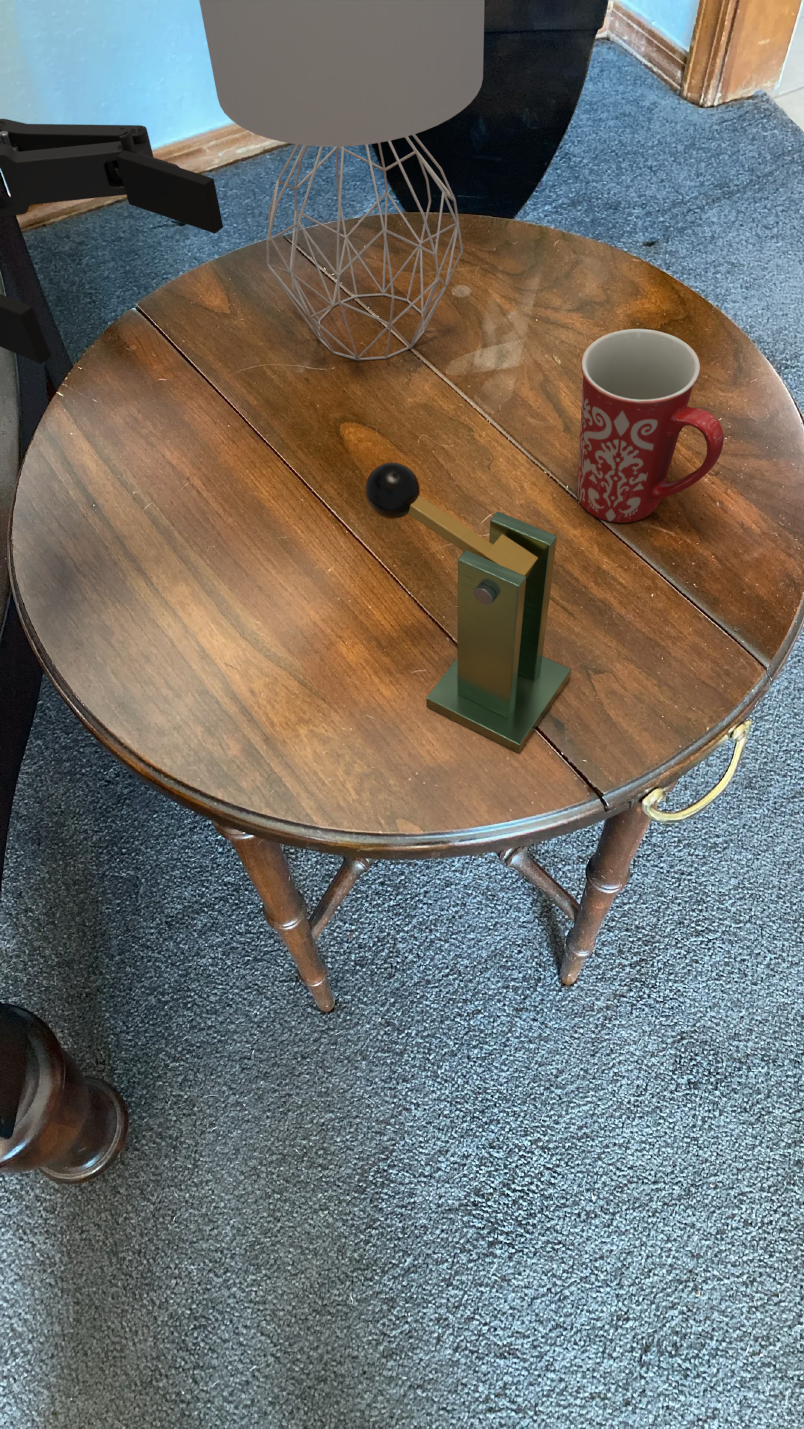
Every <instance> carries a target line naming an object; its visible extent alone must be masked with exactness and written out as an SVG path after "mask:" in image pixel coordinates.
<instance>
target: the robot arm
mask: <svg viewBox="0 0 804 1429" xmlns="http://www.w3.org/2000/svg"><path fill="white" fill-rule="evenodd" d="M0 171H1V173H2V176H3V179H4V181H5V184H6V187H7V189H8V193H9V195H10V196H3V197H2V193H1V192H0V218H1V217H2V218H3V217H11V216H21V215H25V214H26V213H27V212H28V211H29V207H30V206H32V205H33V206H34V205H41V204H53V203H61V202H70V201H71V202H72V201H81V200H90V199H99V198H110V197H119V196H126V199H127V202H128V205H130V206H132V207H136V208H139V209H141V210H144V211H147V212H151V213H153V214H156V215H159V216H163V217H165V218H167V219H171V220H174V221H177V222H180V223H182V224H185V225H188V226H191V227H194V228H197V229H200V230H203V231H206V232H209V233H212V234H213V235H214V234H217V233H218V232H220V231H221V230H222V229H224V223H223V218H222V213H221V208H220V203H219V200H218V193H217V188H216V184H215V179H214V177H210V176H207V175H204V174H200V173H197V172H194V171H191V170H189V169H185V168H182V167H180V165H177V164H176V163H172V162H169V161H166V160H163V159H160V158H157V157H154V154H153V149H152V145H151V141H150V137H149V132H148V129H147V127H146V126H145V125H142V124H141V125H140V124H129V125H128V124H75V123H74V124H73V123H72V124H69V123H65V124H63V123H26V122H20V121H16V120H12V119H8V118H0ZM0 348H2V349H5V350H7V351H9V352H11V353H14V354H16V355H18V356H20V357H23V358H26V359H28V360H29V361H32V362H35V363H37V364H38V365H42V364H43V363H45V362H46V361H48V359H50V358H51V357H52V354H51V351H50V349H49V346H48V344H47V340H46V339H45V336H44V333H43V331H42V328H41V325H40V323H39V321H38V318H37V315H36V313H35V310H34V308H33V306H31V305H29V304H27V303H24V302H21V301H18V300H17V299H14V298H11V297H9V296H6V295H4V294H2V293H0Z"/></svg>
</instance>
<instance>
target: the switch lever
mask: <svg viewBox="0 0 804 1429" xmlns="http://www.w3.org/2000/svg"><path fill="white" fill-rule="evenodd" d="M364 496H365V500H366V502H367V504H368V506H369V508H370V509H371V510H372V511H373V512H374V513H375V514H376V515H377V516H379V517H381V518H383V519H387V520H398V519H401V518H404V517H406V516H410V517H411V518H413V519H414V520H415V521H417V522H419V523H420V524H422V525H423V526H425V527H426V528H428V529H429V530H431V531H432V532H434V533H435V534H437V535H438V536H440V537H441V538H443V539H444V540H446V541H447V542H449V543H450V544H452V545H453V546H454V547H456V548H458V549H459V550H461V551H462V552H464V551H465V550H467V551H469V552H471V553H474V554H476V555H478V556H481V557H483V558H485V559H487V560H490V561H492V562H494V563H497V564H499V565H501V566H503V567H506V568H508V569H510V570H513V571H515V572H517V573H520V574H522V575H524V576H526V579H527V578H528V576H529V574H530V572H531V570H532V568H533V567H534V565H535V563H536V561H537V559H538V557H536V556H535V555H533V554H532V553H530V552H529V551H527V550H526V549H524V548H523V547H521V546H520V545H518V544H517V543H515V542H514V541H512V540H511V539H509V538H508V537H506V536H505V535H503V534H501V536H500V537H499V538H498V539H497V541H496V542H495V543H494V544H491V543H490V542H489V540H487V539H485V537H483V536H481V535H479V533H477V532H476V531H473V530H472V529H471V528H469V527H467V525H464V524H463V523H461V522H460V521H458V520H457V519H455V518H454V517H452V516H451V515H449V514H448V513H446V512H444V511H443V510H442V509H440V508H439V507H437V506H435V505H434V504H433V503H431V502H430V501H428V500H427V499H425V498H424V497H422V496H421V485H420V482H419V479H418V477H417V475H416V474H415V473H414V472H413V470H412V469H410V467H408V466H406V465H404V464H402V463H399V462H386V463H382V464H380V465H378V466H377V467H375V468H374V469H372V471H371V472H370V474H369V475H368V477H367V479H366V482H365V485H364Z"/></svg>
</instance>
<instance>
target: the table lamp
mask: <svg viewBox="0 0 804 1429" xmlns="http://www.w3.org/2000/svg"><path fill="white" fill-rule="evenodd" d="M198 1H199V6H200V12H201V16H202V22H203V28H204V33H205V38H206V44H207V49H208V55H209V59H210V64H211V70H212V75H213V76H212V77H213V81H214V86H215V90H216V96H217V100H218V103H219V107H220V108H221V110H222V112H223V113H224V114H225V116H227V117H228V118H229V119H230V121H232V122H233V123H235V124H236V125H237V126H239V127H240V128H242V129H244V130H246V131H248V132H250V133H251V134H255V135H257V136H260V137H262V138H265V139H269V140H273V141H277V142H281V143H285V144H286V143H287V144H291V145H292V144H293V145H295V147H294V148H293V150H292V152H291V153H290V156H289V157H288V159H287V161H286V163H285V164H284V166H283V168H282V170H281V172H280V174H279V176H278V177H277V179H276V182H275V186H274V190H273V194H272V197H271V202H270V205H269V209H268V214H267V215H268V216H267V218H268V220H267V221H268V222H267V224H268V230H267V236H266V266H267V268H268V269H269V271H270V272H271V275H272V276H273V277H274V278H275V280H276V281H277V283H278V284H279V286H280V287H281V289H282V290H283V292H284V293H285V294H286V296H287V298H288V299H289V301H290V302H291V303H292V304H293V306H294V307H295V309H296V310H297V311H298V313H299V315H300V316H301V317H302V318H303V320H304V321H305V323H306V324H307V325H308V327H309V328H310V329H311V331H312V332H313V334H314V335H315V337H316V338H317V340H319V341H320V342H321V343H322V344H323V345H324V347H326V348H327V349H328V350H329V351H330V352H331V354H334V355H337V356H340V357H343V358H348V359H351V360H354V361H358V362H359V361H373V360H386V359H389V358H391V357H393V356H396V355H398V354H401V353H403V352H405V351H408V350H409V349H412V348H413V347H414V346H415V344H416V343H417V342H418V341H419V339H420V338H421V337H422V336H423V335H424V333H425V332H426V330H427V328H428V326H429V324H430V322H431V320H432V319H433V316H434V314H435V312H436V310H437V308H438V306H439V304H440V302H441V300H442V297H443V296H444V293H445V292H446V291H447V290H446V289H447V288H448V286H449V283H450V281H451V280H452V278H453V274H454V272H455V271H456V268H457V266H458V263H459V262H460V260H461V257H462V255H463V252H464V246H463V240H462V234H461V228H460V219H459V218H460V217H459V212H458V205H457V200H456V197H455V195H454V193H453V191H452V189H451V187H450V186H451V185H450V184H449V181H448V180H447V177H446V175H445V172H444V170H443V168H442V166H441V165H440V164H439V163H438V162H437V160H436V159H435V158H434V156H433V155H432V154H431V153H430V151H429V150H428V149H427V147H426V146H425V145H424V144H423V143H422V141H421V140H420V139H419V138H418V136H417V134H419V133H422V132H425V131H427V130H429V129H432V128H434V127H438V126H439V125H441V124H443V123H445V122H447V121H449V120H450V119H452V118H453V117H455V116H457V115H458V114H459V113H461V112H462V111H463V110H464V109H466V108H467V107H468V106H469V105H470V104H471V103H472V102H473V100H474V99H475V98H476V97H477V95H478V94H479V92H480V90H481V88H482V85H483V80H484V51H485V50H484V44H485V42H484V41H485V40H484V39H485V36H484V35H485V0H198ZM410 136H412V137H413V138H414V140H415V141H416V142H417V144H418V145H419V146H420V147H421V148H422V150H423V151H424V152H425V154H426V155H427V157H428V158H429V159H430V160H431V161H432V163H433V164H434V165H435V166H436V168H437V169H438V170H439V171H440V175H441V176H442V178H443V181H444V183H445V184H444V183H443V181H442V180H441V179H440V178H439V176H438V175H437V174H436V173H435V171H434V170H433V168H432V167H431V166H430V165H429V163H428V162H427V161H426V159H425V158H424V157H423V155H422V154H421V153H420V152H419V150H418V149H417V147H416V146H415V145H414V143H413V142H412V141H411V139H410ZM402 138H405V140H406V141H407V143H408V144H409V146H410V147H411V149H412V150H413V151H412V152H410V153H409V154H407V155H405V156H404V157H402V158H399V156H398V154H397V152H396V149H395V147H394V145H393V143H392V141H394V140H398V139H402ZM385 142H387V143H388V145H389V147H390V149H391V152H392V153H393V155H394V158H395V160H396V161H395V162H393V163H392V164H390V165H388V166H387V167H386V165H385V160H384V155H383V150H382V145H381V143H385ZM373 144H377V145H378V150H379V155H380V160H381V165H382V166H380V165H378V164H376V163H374V162H372V158H371V153H370V149H369V145H373ZM299 146H302V147H301V149H300V151H299V152H298V155H297V157H296V159H295V161H294V164H293V165H292V167H291V170H290V172H289V174H288V175H287V178H286V180H285V182H284V181H282V180H281V179H282V178H283V176H284V174H285V172H286V170H287V168H288V166H289V165H290V162H291V161H292V160H293V158H294V156H295V154H296V152H297V150H298V149H299ZM309 146H311V147H319V149H318V152H317V155H316V159H315V162H314V165H313V169H312V170H311V171H310V172H309V173H308V174H307V175H305V177H304V178H303V179H302V180H301V181H300V182H299V177H300V173H301V172H300V171H301V167H302V161H303V158H304V156H305V154H306V151H307V150H308V147H309ZM354 146H355V147H356V146H365V151H366V156H367V159H366V158H364V157H362V156H360V155H358V154H356V153H354V152H352V151H350V150H348V149H346V148H345V147H354ZM323 147H329V148H330V147H331V148H332V147H333V149H332V150H331V151H329V153H328V154H327V155H325V156H324V157H323V159H322V160H321V161H320V158H321V155H322V151H323ZM339 150H340V167H339ZM334 153H335V179H336V181H335V182H336V194H337V201H338V203H337V205H338V206H337V220H336V230H335V229H333V228H331V227H329V226H327V225H326V224H324V223H322V222H320V221H318V220H316V219H314V218H312V217H311V216H309V215H307V214H305V213H304V212H305V209H306V205H307V201H308V198H309V195H310V192H311V188H312V185H313V181H314V178H315V174H316V171H317V170H318V169H319V168H320V167H321V166H322V165H323V164H324V163H325V162H326V161H327V159H329V158H330V157H331V155H333V154H334ZM345 153H347V154H348V155H350V156H353V157H355V158H356V159H358V160H360V161H363V162H364V163H366V164H368V165H369V170H370V176H371V180H372V184H373V189H374V194H375V200H376V202H374V204H373V205H372V206H371V207H370V208H369V210H367V212H366V213H365V214H364V215H363V216H362V217H361V218H360V219H359V221H358V222H357V223H356V224H355V225H354V226H353V227H352V229H350V231H349V232H348V233H347V229H346V223H345V217H344V212H343V206H342V194H343V193H342V192H343V178H344V177H343V176H344V161H345V159H344V158H345ZM414 155H416V157H417V160H418V163H419V165H420V168H421V170H422V174H423V177H424V179H425V183H426V190H427V197H428V204H427V208H426V212H424V210H423V208H422V206H421V204H420V201H419V200H418V197H417V195H416V193H415V191H414V188H413V185H412V184H411V181H410V180H409V178H408V175H407V173H406V171H405V169H404V167H403V165H402V162H404V161H405V160H407V159H409V158H411V157H413V156H414ZM319 161H320V162H319ZM397 165H398V166H399V169H400V171H401V173H402V175H403V177H404V180H405V182H406V184H407V186H408V188H409V190H410V192H411V195H412V197H413V199H414V201H415V203H416V206H417V207H418V210H419V213H420V214H421V217H422V220H423V227H422V230H421V236H420V238H419V236H418V235H417V234H416V232H415V230H414V229H413V227H412V226H411V225H410V223H409V222H408V219H407V218H406V217H405V216H404V214H403V212H402V210H400V208H399V207H398V205H397V203H396V202H395V200H394V199H393V197H392V196H391V194H390V193H389V189H388V179H387V171H389V170H390V169H392V168H393V167H395V166H397ZM373 167H374V168H376V169H378V170H380V171H382V172H383V180H384V190H385V192H383V193H382V195H381V196H379V193H378V188H377V182H376V177H375V174H374V173H375V172H374V168H373ZM296 168H297V171H296V176H295V180H294V181H295V182H294V186H292V185H290V184H289V182H290V180H291V178H292V176H293V174H294V172H295V170H296ZM339 168H340V169H339ZM339 170H340V171H339ZM426 171H427V172H428V174H429V175H430V177H431V178H432V179H433V181H434V183H435V184H436V185H437V187H438V188H439V190H440V191H441V199H440V206H439V215H438V224H437V232H435V234H432V235H431V231H430V228H429V224H428V219H429V218H428V217H429V213H430V209H431V204H432V196H431V190H430V182H429V178H428V174H427V172H426ZM309 178H310V180H309V183H308V186H307V189H306V193H305V196H304V199H303V203H302V207H301V209H300V211H299V210H298V199H297V190H298V189H299V188H300V187H302V185H303V184H304V183H305V182H306V181H307V180H308V179H309ZM279 184H281V185H283V186H282V189H281V191H280V193H279V195H278V191H279ZM287 188H290V189H291V190H293V194H294V195H293V196H294V199H293V200H294V216H293V224H292V225H290V226H289V227H287V228H285V229H283V230H281V231H280V232H279V233H277V234H275V235H273V236H272V231H273V227H274V223H275V219H276V214H277V210H278V206H279V203H280V201H281V200H282V197H283V195H284V193H285V191H286V189H287ZM277 196H278V197H277ZM384 198H385V200H384V218H383V214H382V213H383V212H382V208H381V203H380V202H382V200H383V199H384ZM388 198H389V199H388ZM449 199H450V200H451V201H452V202H453V207H454V211H453V208H452V206H451V204H450V201H449ZM388 200H390V202H391V203H392V204H393V206H394V207H395V209H396V210H397V212H398V214H399V215H400V216H401V218H402V219H403V221H404V222H405V224H406V225H407V227H408V229H409V230H410V232H411V233H412V235H413V236H414V238H415V239H416V241H417V242H418V243H416V242H414V241H411V240H409V239H407V238H405V237H404V236H401V235H399V234H397V233H395V232H394V231H391V230H389V229H388ZM444 200H445V202H446V205H447V207H448V210H449V212H450V214H451V218H452V219H453V221H454V223H453V224H451V225H449V226H447V227H445V228H444V229H441V223H442V218H443V217H442V215H443V209H444ZM376 207H377V209H378V214H379V219H380V224H381V230H380V231H379V232H378V233H377V234H376V235H375V236H374V237H373V238H372V239H370V241H369V242H368V243H367V244H366V245H365V246H364V247H363V248H362V249H361V250H360V251H359V252H358V251H357V250H356V248H355V247H354V245H353V244H352V243H351V240H350V239H349V237H350V236H351V234H352V233H353V232H354V231H355V230H356V229H357V228H358V227H359V226H360V225H361V224H362V222H363V221H364V220H365V219H366V218H367V217H368V216H369V215H370V213H372V211H373V210H375V208H376ZM303 217H304V218H306V219H307V220H309V221H312V222H313V223H315V224H317V225H319V226H320V227H322V228H325V229H326V230H328V231H330V232H332V233H334V234H335V235H336V269H335V268H334V266H333V265H332V264H331V262H330V261H329V260H328V258H327V257H326V256H325V254H324V253H323V252H322V250H321V248H320V247H319V246H318V245H317V243H316V242H315V241H314V239H313V238H312V237H311V235H310V234H309V233H308V231H307V230H306V229H305V227H304V226H303V223H302V219H303ZM297 220H298V221H297ZM341 222H342V223H341ZM341 224H342V229H343V233H340V230H341V228H340V227H341ZM452 228H454V229H453V232H452V235H451V237H450V240H449V243H448V245H447V247H446V250H445V253H444V256H443V258H442V261H441V263H440V267H439V261H438V246H439V240H440V236H441V235H442V234H443V233H445V232H447V231H449V230H451V229H452ZM300 229H301V231H302V234H303V236H304V239H305V241H306V244H307V247H308V250H309V253H310V255H311V257H312V260H313V262H314V265H315V268H316V270H317V273H318V274H319V278H320V280H321V282H322V285H323V287H324V290H325V292H326V295H327V297H328V299H327V298H326V297H325V296H323V295H322V294H321V293H320V292H318V291H317V290H316V289H314V288H313V287H312V286H310V285H309V284H307V283H306V281H304V280H302V278H300V277H299V276H297V274H295V261H296V255H297V248H298V241H299V234H300ZM291 230H292V237H291V239H292V240H291V248H290V259H289V260H290V261H289V265H288V264H287V262H286V260H285V258H284V257H283V255H282V252H281V251H280V249H279V248H278V246H277V244H276V242H275V240H276V239H277V238H279V237H281V236H282V235H284V234H285V233H288V232H290V231H291ZM425 232H426V233H427V236H428V237H427V238H426V239H424V237H425ZM387 234H389V235H390V236H393V237H395V238H397V239H399V240H401V241H403V242H405V243H407V244H410V245H411V246H413V247H415V248H414V250H413V252H411V254H410V255H409V257H408V258H407V259H406V260H405V262H404V264H403V265H402V266H401V268H400V269H399V270H398V271H397V273H396V274H395V275H394V277H393V270H392V265H391V260H390V251H389V246H388V240H387ZM381 235H383V263H382V264H383V265H382V268H383V269H382V287H381V286H380V284H379V282H378V281H377V280H376V278H375V276H374V275H373V274H372V272H371V271H370V269H369V268H368V266H367V265H366V263H365V262H364V260H363V258H362V257H361V255H362V254H363V253H364V252H365V251H366V250H367V249H368V248H369V247H370V246H371V245H372V244H373V243H374V242H375V241H377V239H378V238H379V237H380V236H381ZM457 236H458V237H457ZM340 237H341V238H343V245H342V251H341V254H340ZM457 238H458V241H459V242H458V243H459V247H460V252H459V254H458V256H457V258H456V261H455V263H454V265H453V267H452V263H453V259H454V252H455V247H456V242H457ZM433 239H435V244H434V240H433ZM309 241H310V242H309ZM270 242H271V243H272V245H273V247H274V249H275V250H276V252H277V254H278V256H279V258H280V260H281V261H282V263H283V265H284V266H285V268H286V269H285V268H282V267H279V266H276V265H273V264H271V263H270ZM428 242H429V243H430V247H431V249H432V250H430V249H428V248H426V247H424V246H423V244H425V243H428ZM310 243H311V244H312V246H313V247H314V248H315V250H316V251H317V252H318V254H319V255H320V256H321V258H322V259H323V260H324V261H325V263H326V264H327V265H328V267H329V268H330V270H331V271H332V272H333V273H334V275H335V276H336V282H335V285H334V286H335V287H334V292H333V297H331V294H330V292H329V289H328V286H327V284H326V281H325V279H324V277H323V274H322V272H321V269H320V267H319V264H318V262H317V259H316V256H315V254H314V251H313V250H312V246H311V244H310ZM350 248H351V249H352V251H353V253H354V254H355V256H354V257H353V258H352V257H351V251H350ZM450 249H451V252H450ZM345 250H346V252H347V258H348V262H347V264H346V265H345V266H344V267H343V268H342V266H343V262H344V256H345ZM423 251H425V252H426V253H429V254H431V255H433V256H434V264H435V271H436V276H435V279H434V281H433V282H432V283H431V284H430V285H429V286H428V287H427V288H425V289H424V274H423V271H424V270H423ZM449 252H450V257H449V261H448V262H449V263H448V268H447V274H446V278H445V281H444V280H442V279H441V277H440V274H441V272H442V270H443V267H444V265H445V262H446V259H447V257H448V254H449ZM415 254H416V258H415V260H414V261H415V262H414V265H413V270H412V274H411V278H410V283H409V287H408V291H407V296H406V298H405V297H401V296H396V295H395V291H394V282H395V281H396V279H397V278H398V277H399V275H400V274H401V273H402V271H403V270H404V269H405V268H406V266H407V265H408V263H409V262H410V261H411V259H413V257H414V256H415ZM340 255H341V256H340ZM358 259H359V260H360V263H361V265H362V266H363V267H364V269H365V270H366V272H367V273H368V275H369V276H370V278H371V279H372V280H373V283H375V285H376V286H377V288H378V289H379V291H380V292H381V293H380V292H379V293H364V294H358V291H357V285H356V279H355V274H354V269H353V263H354V262H355V261H356V260H358ZM386 262H387V265H386ZM418 262H419V272H420V273H419V274H420V275H419V276H420V294H419V295H418V296H417V297H416V298H415V299H414V300H413V301H412V302H411V301H410V295H411V292H412V287H413V283H414V279H415V274H416V270H417V267H418ZM386 266H387V267H388V274H389V283H388V285H387V286H386ZM348 268H350V274H351V279H352V285H353V290H354V295H353V296H350V297H348V298H345V299H343V300H341V285H340V284H341V283H340V277H341V275H342V274H343V273H344V272H345V271H346V270H347V269H348ZM451 269H452V270H451ZM275 270H278V271H281V272H284V273H288V274H289V275H290V278H291V290H292V291H291V290H290V288H289V287H288V286H287V284H285V282H284V280H283V279H282V278H281V277H280V276H279V275H278V273H277V272H276V271H275ZM298 281H299V282H298ZM299 283H301V284H302V285H304V286H305V287H306V288H308V289H309V290H310V291H311V292H313V293H314V294H316V296H318V297H319V298H320V299H322V300H323V301H325V303H327V304H328V306H327V307H325V308H323V309H321V310H319V311H317V312H316V311H315V309H314V307H313V306H312V304H311V303H310V301H309V299H308V298H307V296H306V294H305V293H304V291H303V289H302V288H301V285H300V284H299ZM439 283H441V284H442V285H443V287H442V288H441V289H440V291H439V292H438V293H437V294H436V291H437V288H438V286H439ZM389 289H390V292H391V293H390V294H389V293H387V291H388V290H389ZM427 292H429V294H428V296H427V299H426V301H425V303H424V296H425V294H427ZM435 294H436V295H435ZM378 296H385V297H387V298H391V302H390V312H389V321H386V320H384V319H382V318H380V317H378V316H375V315H373V314H371V313H368V312H367V311H364V310H361V309H360V308H357V307H354V306H352V305H350V304H348V303H346V302H349V301H351V300H354V299H357V298H367V297H378ZM434 296H435V297H434ZM336 297H337V298H336ZM336 299H337V301H336ZM395 299H396V300H399V301H403V302H407V303H408V306H406V307H405V308H404V310H402V311H401V312H400V314H398V315H397V316H396V317H395V318H394V319H393V316H394V315H393V314H394V305H395ZM419 300H420V307H421V308H419V307H417V306H416V305H415V304H416V303H417V302H418V301H419ZM307 305H308V307H309V308H310V310H311V312H312V313H313V314H311V313H310V311H309V308H308V307H307ZM432 305H433V306H432ZM336 306H339V310H340V312H341V316H342V319H343V322H344V325H345V329H346V332H347V335H348V337H349V340H350V343H351V346H352V349H353V351H352V350H350V349H349V348H348V347H347V346H346V345H344V343H342V341H340V340H339V339H338V338H337V337H336V336H334V335H333V334H332V333H331V332H330V331H329V330H327V328H325V326H323V325H321V321H323V319H324V318H325V317H326V316H327V315H328V314H329V312H330V311H331V310H332V309H333V308H335V307H336ZM343 306H344V307H345V308H348V309H351V310H353V311H355V312H358V313H359V314H362V315H364V316H367V317H369V318H371V319H374V320H376V321H378V322H381V323H383V324H386V325H387V326H386V327H385V328H383V330H382V331H381V332H380V333H379V334H378V335H377V336H376V338H374V340H372V341H371V343H369V345H368V346H367V347H366V348H365V349H364V350H363V351H362V352H361V353H360V354H359V353H358V351H357V348H356V346H355V342H354V339H353V337H352V332H351V331H350V328H349V324H348V321H347V318H346V314H345V311H344V308H343ZM431 306H432V307H431ZM430 307H431V309H430ZM411 308H413V309H414V310H416V311H417V312H419V314H421V319H420V321H419V324H418V325H417V328H416V331H415V333H414V335H413V338H412V340H411V343H410V342H408V340H407V339H406V338H405V337H404V335H402V334H401V333H400V331H399V330H397V328H396V327H395V326H394V325H393V324H394V323H396V322H397V321H398V320H399V319H400V318H401V317H402V316H403V315H404V314H405V313H406V312H408V310H410V309H411ZM301 309H302V310H301ZM429 309H430V311H429ZM302 311H303V312H304V313H305V314H304V313H303V312H302ZM428 311H429V312H428ZM427 313H428V314H427ZM320 314H322V315H321V317H319V315H320ZM306 316H307V317H308V319H309V320H308V319H307V317H306ZM315 318H316V319H315ZM392 330H393V331H394V332H395V334H397V335H398V336H399V337H400V339H401V340H402V341H403V342H404V343H405V344H406V345H407V346H406V347H404V348H402V349H400V350H397V351H395V352H393V353H391V354H389V349H390V348H389V347H390V340H391V333H392ZM322 331H324V333H326V334H327V335H328V336H329V337H330V338H332V340H334V341H335V342H336V343H337V344H338V345H339V346H340V347H341V348H343V349H344V350H345V351H346V352H348V354H349V355H348V354H345V353H342V352H339V351H336V350H335V351H334V349H333V347H332V346H331V344H330V343H329V341H328V340H327V338H326V337H325V335H324V334H323V332H322ZM386 331H388V332H387V340H386V348H385V356H370V357H368V356H367V357H363V356H364V355H365V354H366V353H367V352H368V351H369V349H370V348H371V347H372V346H373V345H374V344H375V343H376V342H378V340H379V339H380V338H381V337H382V336H383V335H384V334H385V333H386ZM358 354H359V355H358Z"/></svg>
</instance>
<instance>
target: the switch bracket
mask: <svg viewBox="0 0 804 1429" xmlns="http://www.w3.org/2000/svg"><path fill="white" fill-rule="evenodd" d="M501 534H503V535H505V536H506V537H508V538H509V539H511V540H512V541H514V542H515V543H517V544H518V545H520V546H521V547H523V548H524V549H526V550H527V551H529V552H530V553H532V554H533V555H535V556H536V557H538V559H537V561H536V563H535V565H534V567H533V568H532V570H531V572H530V574H529V576H528V578H527V579H526V576H524V575H522V574H520V573H517V572H515V571H513V570H510V569H508V568H506V567H503V566H501V565H499V564H497V563H494V562H492V561H490V560H487V559H485V558H483V557H481V556H478V555H476V554H474V553H471V552H469V551H467V550H465V551H463V553H461V555H460V556H459V558H457V657H456V658H455V660H454V661H453V663H451V665H450V666H449V668H447V670H446V671H445V673H444V674H443V675H442V677H441V678H440V679H439V681H437V683H436V685H435V686H434V687H433V688H432V689H431V691H430V692H429V694H428V695H427V696H426V699H425V700H426V701H425V702H426V707H427V708H428V709H430V710H432V711H434V712H436V713H437V714H440V715H442V716H444V717H446V718H448V719H450V720H451V721H454V722H456V723H458V724H460V725H462V726H464V727H465V728H468V729H469V730H471V731H473V732H476V733H477V734H479V735H480V736H483V737H485V738H487V739H489V740H492V742H494V743H497V744H499V745H500V746H503V747H505V748H507V749H509V750H511V751H513V752H515V753H517V754H520V753H521V751H522V750H523V748H524V747H525V746H526V744H527V742H528V741H529V739H530V738H531V736H532V735H533V733H534V732H535V731H536V729H537V727H538V726H539V725H540V723H541V722H542V720H543V718H544V717H545V716H546V714H547V713H548V711H549V710H550V709H551V707H552V705H553V704H554V703H555V701H556V700H557V698H558V696H559V695H560V693H561V692H562V690H563V689H564V688H565V686H566V684H568V682H569V680H570V678H571V674H572V669H571V668H569V667H568V666H566V665H563V664H561V663H559V662H557V661H555V660H553V659H550V658H548V657H546V656H543V655H544V647H545V640H546V639H545V638H546V630H547V623H548V614H549V606H550V597H551V590H552V581H553V573H554V565H555V557H556V556H555V555H556V549H557V540H558V535H557V534H554V533H551V532H549V531H546V530H544V529H542V528H540V527H537V526H535V525H533V524H530V523H527V522H525V521H522V520H520V519H518V518H515V517H513V516H511V515H509V514H506V513H503V512H501V511H496V512H495V513H494V515H493V516H492V517H491V518H490V519H489V535H488V536H489V538H488V539H489V540H488V542H490V543H491V544H494V543H495V542H496V541H497V539H498V538H499V537H500V536H501Z"/></svg>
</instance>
